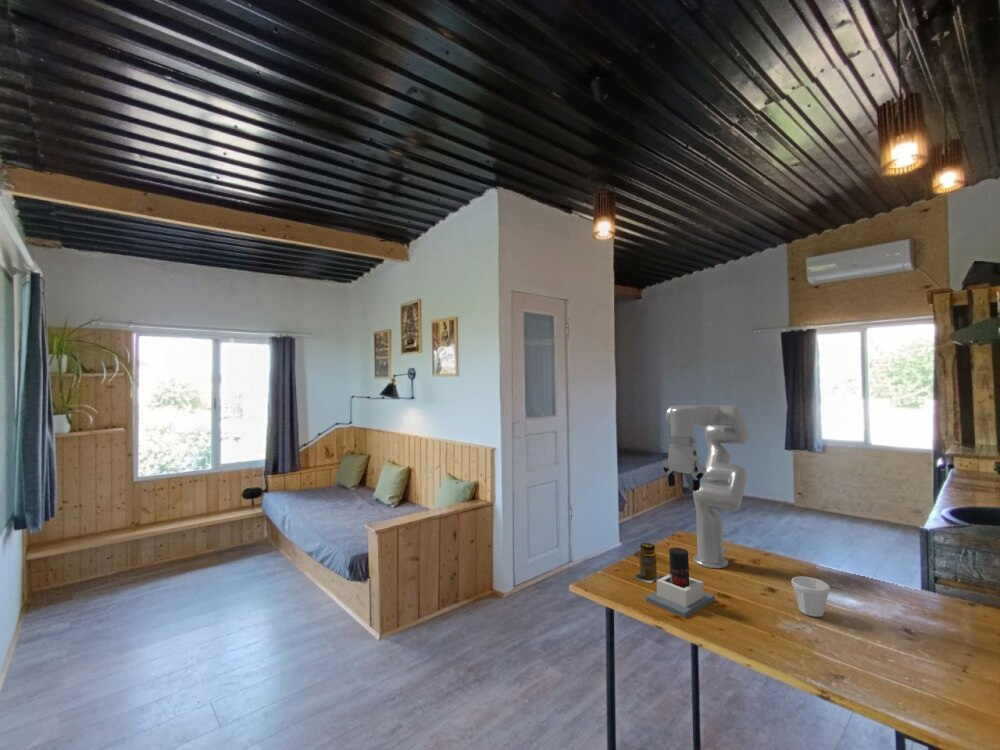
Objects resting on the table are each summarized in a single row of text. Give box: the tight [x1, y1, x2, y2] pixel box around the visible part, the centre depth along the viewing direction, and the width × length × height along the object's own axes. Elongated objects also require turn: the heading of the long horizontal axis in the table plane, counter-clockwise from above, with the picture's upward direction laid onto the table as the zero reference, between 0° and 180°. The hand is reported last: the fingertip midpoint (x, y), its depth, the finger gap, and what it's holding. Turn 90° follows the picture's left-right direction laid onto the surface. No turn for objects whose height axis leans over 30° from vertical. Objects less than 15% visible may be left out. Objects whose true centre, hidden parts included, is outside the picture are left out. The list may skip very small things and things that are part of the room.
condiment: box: [632, 542, 662, 584], centre depth 170 cm, size 7×8×12 cm
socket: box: [645, 573, 716, 619], centre depth 151 cm, size 18×14×6 cm
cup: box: [790, 576, 831, 618], centre depth 141 cm, size 10×10×9 cm
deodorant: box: [668, 547, 690, 588], centre depth 151 cm, size 6×6×15 cm
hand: (683, 488), depth 165 cm, fingers open, 9 cm apart
